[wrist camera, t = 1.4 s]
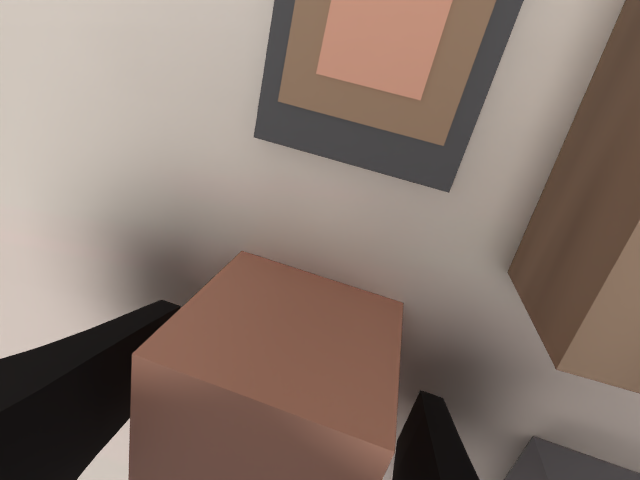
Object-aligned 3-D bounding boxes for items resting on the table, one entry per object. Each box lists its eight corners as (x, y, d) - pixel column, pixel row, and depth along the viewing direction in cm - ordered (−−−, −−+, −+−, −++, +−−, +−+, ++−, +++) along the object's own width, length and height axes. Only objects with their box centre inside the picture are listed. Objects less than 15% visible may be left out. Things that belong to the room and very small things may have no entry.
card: (567, -122, 7) (579, -140, 6) (447, 188, 9) (449, 194, 9) (307, -167, 8) (299, -187, 7) (259, 135, 10) (250, 138, 9)
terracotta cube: (403, 301, 11) (394, 452, 6) (357, 421, 13) (326, 599, 8) (243, 249, 12) (132, 353, 7) (223, 371, 14) (127, 513, 9)
